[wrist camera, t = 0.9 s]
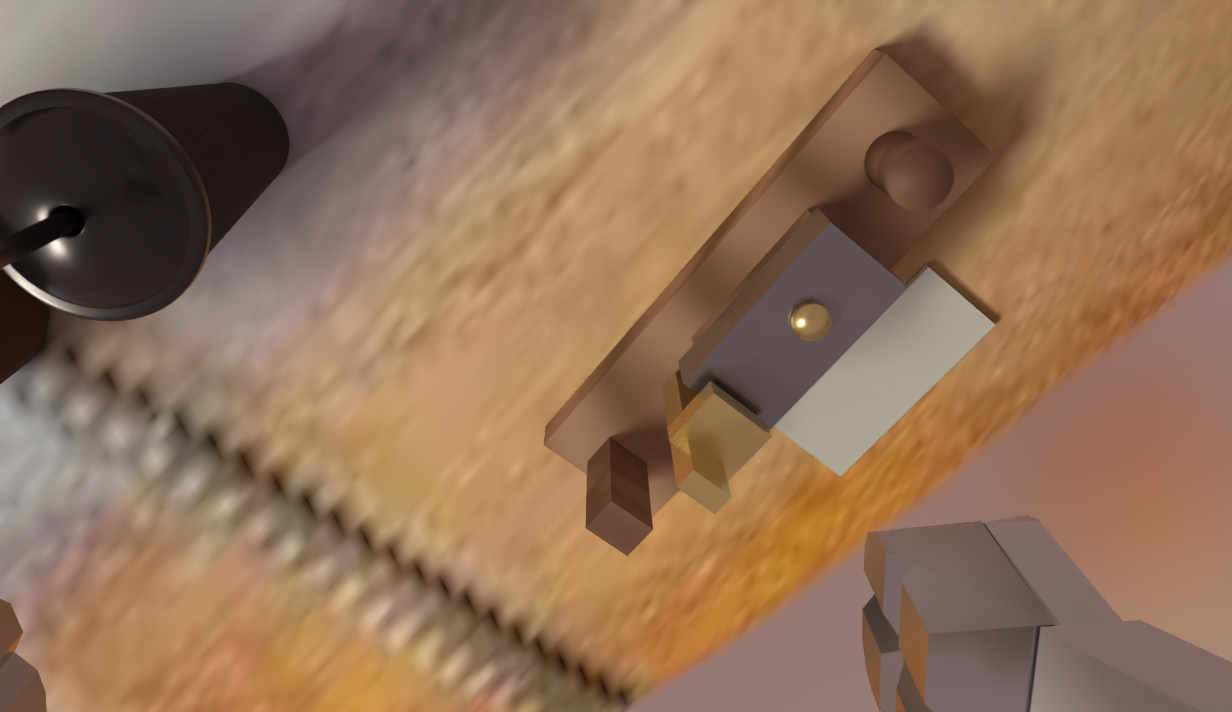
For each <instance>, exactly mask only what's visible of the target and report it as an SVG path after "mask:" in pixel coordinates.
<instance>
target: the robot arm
mask: <svg viewBox="0 0 1232 712" xmlns="http://www.w3.org/2000/svg"><path fill="white" fill-rule="evenodd" d="M864 571H865V573H866V576H867V578H868V580H869V582H870V585H871V587H872V589H873V592H874V595H873V597H872V598H871V599H870V600H869V602H868V603H867V604H866V605H865V607H864V608H863V619H862V620H863V621H862V627H863V630H862V631H863V632H862V633H863V636H862V639H863V647H864V655H865V664H866V670H867V673H868V678H869V682H870V685H871V689H872V692H873V695H874V697H875V700H876V703H877V705H878V708H879V711H881V712H1232V663H1231V662H1230V661H1227V660H1225V659H1223V658H1220V657H1219V656H1217V655H1215V654H1212V653H1210V652H1208V651H1206V650H1204V649H1202V648H1199V647H1197V646H1195V645H1193V644H1191V643H1189V642H1187V641H1184V640H1182V639H1180V638H1178V637H1176V636H1174V635H1171V634H1169V633H1167V632H1165V631H1163V630H1161V629H1159V628H1156V627H1154V626H1152V625H1150V624H1148V623H1146V622H1143V621H1141V620H1135V621H1122V620H1121V618H1120V617H1119V616H1118V615H1117V614H1116V612H1115V611H1114V610H1113V609H1112V608H1111V606H1110V605H1109V604H1108V603H1107V602H1106V600H1105V599H1104V598H1103V597H1102V596H1101V594H1100V593H1099V592H1098V591H1097V590H1096V588H1095V587H1094V586H1093V585H1092V584H1091V582H1090V581H1089V580H1088V579H1087V578H1086V576H1085V575H1084V574H1083V573H1082V571H1081V570H1080V569H1079V568H1078V567H1077V565H1076V564H1075V563H1074V562H1073V561H1072V559H1071V558H1070V557H1069V556H1068V555H1067V553H1066V552H1065V551H1064V550H1063V549H1062V548H1061V546H1060V545H1059V544H1058V543H1057V541H1056V540H1055V539H1054V538H1053V537H1052V535H1051V534H1050V533H1049V532H1048V531H1047V529H1046V528H1045V527H1044V526H1043V525H1042V523H1041V522H1040V521H1039V520H1038V519H1036V518H1033V517H1031V516H1029V515H1024V516H1015V517H1006V518H997V519H988V520H979V521H975V522H966V523H956V524H945V525H935V526H925V527H914V528H903V529H892V530H882V531H871V532H868V535H867V539H866V544H865V553H864ZM22 634H23V631H22V628H21V626H20V624H19V622H18V619H17V617H16V615H15V613H14V610H13V608H12V606H11V604H10V603H8V602H6V601H4V600H2V599H0V712H47V709H46V694H45V689H44V686H43V684H42V681H41V678H40V675H39V673H38V670H37V669H35V668H34V667H33V666H31V665H30V664H29V663H28V662H26V661H25V660H24V659H22V658H21V657H20V656H19V655H17V654H16V653H15V650H16V647H17V645H18V643H19V640H20V638H21V636H22Z"/></svg>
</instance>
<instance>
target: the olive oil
mask: <svg viewBox="0 0 1232 712" xmlns="http://www.w3.org/2000/svg"><path fill="white" fill-rule="evenodd" d="M48 314H49V312H48V306H47V305H45V304H43V303H41V302H40V301H38V300H36V299H35V298H33V297H31V296H30V295H29V294H27V293H26V292H24V291H23V290H21V289H20V288H19V287H18V286H17V285H15V284H14V283H13V282H12V281H11V280H10V279H9V278H8V277H7V276H6V275H5V274H4V273H3V272H2V271H1V270H0V384H1V383H2V382H4V381H5V380H6V379H8V378H9V377H10V376H11V375H13V374H14V373H15V372H17V371H18V370H19V369H20V368H21V367H23V366H24V365H25V364H26V363H27V362H28V361H29V360H30V359H31V358H32V357H33V356H34V354H35V353H36V352H37V350H38V349H39V347H40V345H41V343H42V341H43V339H44V336H45V333H46V330H47V325H48Z"/></svg>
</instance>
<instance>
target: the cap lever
mask: <svg viewBox="0 0 1232 712" xmlns="http://www.w3.org/2000/svg"><path fill="white" fill-rule="evenodd" d="M662 390H663V397H664V403H665V410H666V417H667V424H668V427H667V430H668V437H669V441H670V445H671V452H672V459H673V466H674V473H675V479H676V486H677V488H679V489H680V490H681V491H683V492H684V493H686V494H687V495H689V496H690V497H691V498H693V499H694V500H696V501H697V502H698V503H700V504H701V505H703V506H704V507H706V508H707V509H708V510H710V511H711V512H713V513H714V514H715V513H716V512H717V511H718V510H719V509H720V508H721V507H722V506H723V505H724V504H725V503H726V502H727V501H728V500H729V499H730V498H731V493H730V489H729V485H728V481H729V480H730V479H731V478H732V477H733V476H734V475H735V474H736V473H737V472H738V471H739V470H740V469H741V468H742V467H743V466H744V465H745V464H746V463H747V462H748V460H749V459H750V458H751V457H752V456H753V455H754V454H755V453H756V452H757V451H758V450H759V449H760V448H761V447H762V446H763V445H764V444H765V443H766V442H767V441H768V440H769V439H770V438H771V437H772V436H771V433H770V430H769V428H768V425H767V423H766V422H765V421H763V420H762V419H761V418H759V417H758V416H757V415H755V414H754V413H753V412H751V411H750V410H749V409H747V408H746V407H745V406H743V405H742V404H741V403H739V402H738V401H737V400H735V399H734V398H733V397H731V396H730V395H729V394H727V393H726V392H725V391H723V390H722V389H721V388H719V387H718V386H717V385H715V384H714V383H713V382H711V381H710V382H709V383H708V384H707V385H706V386H705V387H704V388H703V389H702V390H701V391H700V393H699V394H698V395H697V394H696V393H695V392H693V391H692V390H691V389H689V388H688V387H687V386H685V385H684V384H683V382H682V377H681V376H680V375H679V374H678V373H676V372H675V373H674V374H673V375H672V376H671V377H670V378H669V379H668V381H667V382H666V383H665V384H664V385H663V386H662Z"/></svg>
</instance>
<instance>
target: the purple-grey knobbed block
mask: <svg viewBox="0 0 1232 712" xmlns="http://www.w3.org/2000/svg"><path fill="white" fill-rule="evenodd" d="M907 288H908V287H907V286H906V285H905V284H904V283H903V282H902V281H901V280H900V279H899V278H898V276H897V275H896V274H895V273H894V272H893V271H892V270H891V269H890V268H889V267H888V266H886V265H885V264H884V263H883V262H882V261H880V260H879V259H878V258H877V257H876V256H875V255H873V254H872V253H871V252H870V251H869V250H867V249H866V248H865V247H864V246H863V245H862V244H860V243H859V242H858V241H857V240H856V239H855V238H853V237H852V236H851V235H850V234H849V233H847V232H846V231H845V230H844V229H843V228H842V227H840V226H839V225H838V224H837V223H836V222H835V221H833V220H832V219H831V218H830V217H829V216H827V215H826V214H825V213H824V212H823V211H822V210H820V209H819V208H818V207H817V208H816V209H815V210H814V211H813V213H812V214H811V215H810V216H809V217H808V218H807V219H806V220H805V221H804V223H803V224H802V225H801V226H800V227H799V228H798V229H797V230H796V231H795V233H794V234H793V235H792V236H791V237H790V238H789V239H788V240H787V241H786V242H785V244H784V245H783V246H782V247H781V248H780V249H779V250H778V251H777V252H776V254H775V255H774V256H773V257H772V258H771V259H770V260H769V261H768V262H767V264H766V265H765V266H764V267H763V268H762V269H761V270H760V271H759V272H758V274H757V275H756V276H755V277H754V278H753V279H752V280H751V281H750V282H749V284H748V285H747V286H746V287H745V288H744V289H743V290H742V291H741V292H740V293H739V295H738V296H737V297H736V298H735V299H734V300H733V301H732V302H731V303H730V305H729V306H728V307H727V308H726V309H725V310H724V311H723V312H722V313H721V315H720V316H719V317H718V318H717V319H716V320H715V321H714V322H713V323H712V325H711V326H710V327H709V328H708V329H707V330H706V331H705V332H704V333H703V334H702V336H701V337H700V338H699V339H698V340H697V341H696V342H695V343H694V344H693V346H692V347H691V348H690V349H689V350H688V351H687V352H686V353H685V354H684V356H683V357H682V358H681V359H680V360H679V361H678V362H679V367H680V372H681V377H682V382H683V384H684V385H685V386H687V387H688V388H689V389H691V390H692V391H693V392H695V393H696V394H697V395H698V394H699V393H700V391H701V390H702V389H703V388H704V387H705V386H706V385H707V384H708V383H709V382H710V381H711V382H713V383H714V384H715V385H717V386H718V387H719V388H721V389H722V390H723V391H725V392H726V393H727V394H729V395H730V396H731V397H733V398H734V399H735V400H737V401H738V402H739V403H741V404H742V405H743V406H745V407H746V408H747V409H749V410H750V411H751V412H753V413H754V414H755V415H757V416H758V417H759V418H761V419H762V420H763V421H765V422H766V423H767V425H768V428H769V430H770V429H771V428H772V427H773V426H774V425H775V424H776V423H777V422H778V421H779V420H780V419H781V418H782V417H783V416H784V415H785V414H786V413H787V412H788V411H789V410H790V409H791V408H792V407H793V406H794V405H795V404H796V403H797V402H798V401H799V399H800V398H801V397H802V396H803V395H804V394H805V393H806V392H807V391H808V390H809V389H810V388H811V387H812V386H813V385H814V384H815V383H816V382H817V381H818V380H819V379H820V378H821V377H822V376H823V375H824V374H825V373H826V372H827V371H828V370H829V369H830V368H831V367H832V365H833V364H834V363H835V362H836V361H837V360H838V359H839V358H840V357H841V356H842V355H843V354H844V353H845V352H846V351H847V350H848V349H849V348H850V347H851V346H852V345H853V344H854V343H855V342H856V341H857V340H858V339H859V338H860V337H861V336H862V335H863V334H864V333H865V332H866V330H867V329H868V328H869V327H870V326H871V325H872V324H873V323H874V322H875V321H876V320H877V319H878V318H879V317H880V316H881V315H882V314H883V313H884V312H885V311H886V310H887V309H888V308H889V307H890V306H891V305H892V304H893V303H894V302H895V301H896V300H897V299H898V298H899V297H900V295H901V294H902V293H903V292H904V291H905V290H906V289H907Z"/></svg>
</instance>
